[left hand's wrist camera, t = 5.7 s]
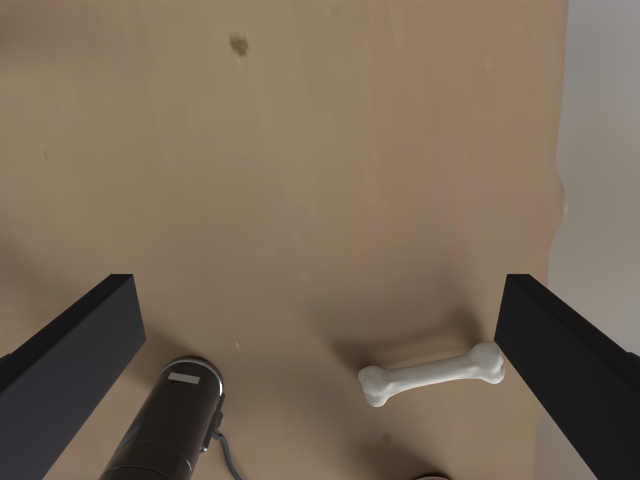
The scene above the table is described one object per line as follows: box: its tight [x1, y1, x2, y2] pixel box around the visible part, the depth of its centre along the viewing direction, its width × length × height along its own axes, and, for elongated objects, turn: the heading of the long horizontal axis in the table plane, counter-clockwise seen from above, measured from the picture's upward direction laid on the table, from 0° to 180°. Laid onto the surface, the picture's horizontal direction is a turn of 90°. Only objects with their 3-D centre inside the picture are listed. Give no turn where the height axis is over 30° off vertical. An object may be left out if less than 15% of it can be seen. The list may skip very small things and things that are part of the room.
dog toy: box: [358, 341, 504, 407], centre depth 51 cm, size 20×6×5 cm, turn 105°
